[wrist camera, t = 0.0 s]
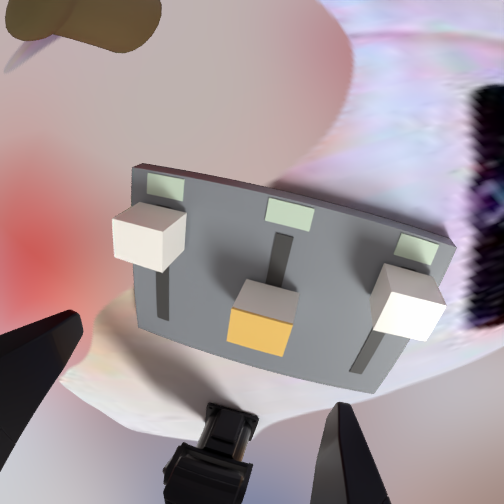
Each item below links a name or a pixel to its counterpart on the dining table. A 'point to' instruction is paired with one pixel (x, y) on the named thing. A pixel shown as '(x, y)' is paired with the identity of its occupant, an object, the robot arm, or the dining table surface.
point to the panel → (279, 273)
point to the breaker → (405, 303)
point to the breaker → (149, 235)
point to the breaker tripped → (262, 317)
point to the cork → (86, 21)
